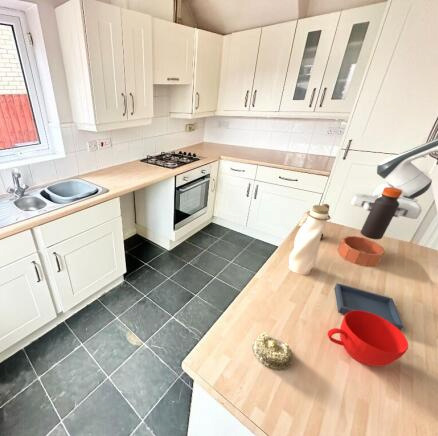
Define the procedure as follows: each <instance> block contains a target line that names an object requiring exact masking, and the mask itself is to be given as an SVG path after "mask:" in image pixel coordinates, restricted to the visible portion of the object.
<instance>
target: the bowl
mask: <svg viewBox="0 0 438 436" xmlns="http://www.w3.org/2000/svg"><path fill="white" fill-rule="evenodd" d="M337 252H338V255H339V256H340V257H342V259H344V260H346V261H348V262H350V263H353V264H355V265H359V266H362V267H376V266H377V265H379V264H380V262H381V261H382V259H383V257H384V255H385V253H386V250H385V248H384V247H383V246H382V245H381V244H379V243H378V242H376V241H374V240H372V239H370V238H367V237H363V236H362V237H361V236H356V235H346V236H344V237H343V238H342V239H341V242H340V243H339V245H338V248H337Z"/></svg>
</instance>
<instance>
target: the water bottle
mask: <svg viewBox="0 0 438 436" xmlns="http://www.w3.org/2000/svg"><path fill="white" fill-rule="evenodd" d="M329 212H330V208H329V209H328V208H327V207H325V206H322V204H320V205H319V204H315V205H313V206H312V208H311V209H308V208H307V209H305V211H304V213H303V215H302V217H301V219H300V221H299V223H298V226H300V228H299V230H298V232H297V233H296V236H295V239H294V242H293V243H294V244H293V250H292V251H291V253H290V254H289V259H288V268H289V270H290V271H292V272H293V273H295V274H297V275H301V276H308V275H309V274H310V273H311V270H312V269H313V267H314V265H315V264H316V261H317V258H318V255H319V252H320V251H319V250H320V245H321V240H320V238H321V235H322V233H323V232H324V230H325V227H326V224H327V221H329V220H331V216H330V215H329Z"/></svg>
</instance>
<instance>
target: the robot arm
mask: <svg viewBox="0 0 438 436" xmlns="http://www.w3.org/2000/svg"><path fill="white" fill-rule="evenodd" d="M436 152H438V137H437V138H433V140H429V141H428V142H425V143H423V144H420V145H418V146H415V147H413V148H411V149H408V150H406V151H404V152H400V153H398V154H395V155H392V156H389V157H387V158H385V159H383V160H382V161H380V162H379V164H377V168H376V174H377V175H378V176H380V178H382V179H384V180H385V181H387V182H383V183H381V184H379V185H378V186H377V187H376V188H375V189H374V190H373V192H372V195H370V194H367V193H357V194H354V195H353V196H352V200H351V203H350V204H351V205H352V206H354V207H358V208H364V209H365V211H367V212H370V211H371V209H372V206H373V204H374V202H375V200H376V199H377V198H380V197H382V192H383V190H384V188H385V187H393V188H397V189H400V190H402V193H401V195H400V197H399V198H397V201H398V202H399V206H398V208H397V210H396V212H395V214H394V216H393V218H399V217H402V218H403V217H404V218H407V219H412V220H417V219H418V218H419V217H420V215H421V213H422V210H423V209H422V207H421V204H419V203H418V197H421V196H422V195H424V194H425V193H426V192H427V191H428V190H429V189H430V187H431V185H432V182H433V179H431V177H429V176H428V175H427V174H426V173H425V172H423V171H422V170H420V168H418V167H417V166H416V165H414V164H413V162H412V161H416V160H418V159H421V158H423V157H426V156H429V155H431V154H434V153H436Z"/></svg>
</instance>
